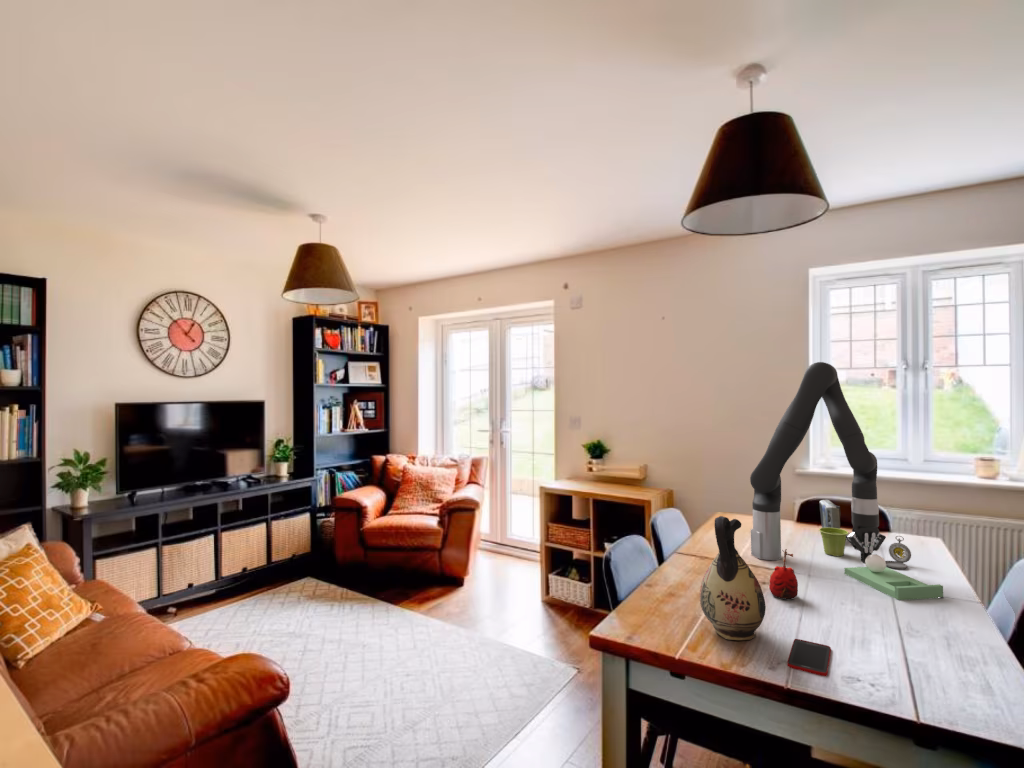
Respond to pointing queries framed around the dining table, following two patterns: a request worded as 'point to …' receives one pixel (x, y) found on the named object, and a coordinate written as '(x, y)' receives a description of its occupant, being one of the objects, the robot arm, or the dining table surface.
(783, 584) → the red clay folk toy
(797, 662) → the cell phone
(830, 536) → the plant pot
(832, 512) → the radio
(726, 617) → the ceramic jug
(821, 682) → the dining table surface
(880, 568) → the ball
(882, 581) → the green
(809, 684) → the dining table surface
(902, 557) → the pocket watch
